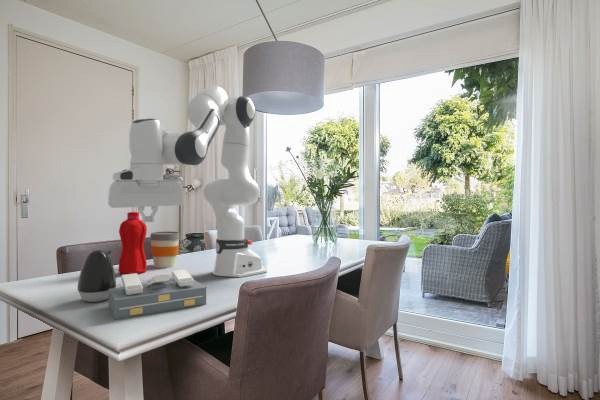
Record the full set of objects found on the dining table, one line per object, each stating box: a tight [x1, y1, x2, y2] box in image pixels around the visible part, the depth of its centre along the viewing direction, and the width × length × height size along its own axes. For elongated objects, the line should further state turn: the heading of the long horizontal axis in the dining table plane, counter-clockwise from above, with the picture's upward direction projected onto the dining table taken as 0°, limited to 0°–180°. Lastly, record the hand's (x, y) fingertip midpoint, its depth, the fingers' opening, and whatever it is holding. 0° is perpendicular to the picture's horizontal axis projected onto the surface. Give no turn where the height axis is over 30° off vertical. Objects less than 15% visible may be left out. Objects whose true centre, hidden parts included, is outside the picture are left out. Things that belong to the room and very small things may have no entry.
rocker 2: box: [147, 274, 171, 286], centre depth 102 cm, size 4×9×2 cm, turn 35°
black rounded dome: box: [77, 249, 117, 303], centre depth 107 cm, size 10×10×15 cm
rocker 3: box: [171, 268, 195, 287], centre depth 106 cm, size 4×9×2 cm, turn 35°
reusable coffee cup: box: [149, 231, 181, 269], centre depth 158 cm, size 13×13×15 cm
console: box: [108, 279, 207, 320], centre depth 102 cm, size 24×13×6 cm, turn 125°
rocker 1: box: [121, 273, 143, 295], centre depth 98 cm, size 4×9×2 cm, turn 35°
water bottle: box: [118, 211, 148, 275], centre depth 144 cm, size 9×11×25 cm
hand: (148, 222), depth 102 cm, fingers closed
